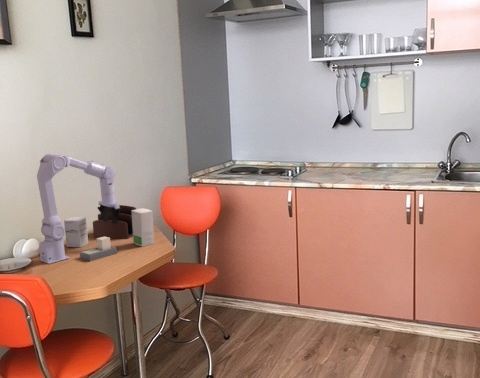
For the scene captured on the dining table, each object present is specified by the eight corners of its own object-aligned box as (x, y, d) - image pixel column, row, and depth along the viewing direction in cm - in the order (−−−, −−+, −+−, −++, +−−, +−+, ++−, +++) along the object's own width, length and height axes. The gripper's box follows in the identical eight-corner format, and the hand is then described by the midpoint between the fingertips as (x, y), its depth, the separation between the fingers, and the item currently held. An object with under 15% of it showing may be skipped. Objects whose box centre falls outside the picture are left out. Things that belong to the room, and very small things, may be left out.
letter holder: (105, 231, 270) (102, 204, 268) (139, 233, 263) (137, 205, 261) (93, 236, 261) (90, 208, 259) (128, 239, 254) (125, 209, 251)
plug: (103, 255, 228) (101, 239, 227) (98, 254, 231) (96, 238, 230) (111, 253, 231) (109, 237, 230) (106, 251, 234) (104, 236, 233)
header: (90, 261, 222) (89, 254, 221) (80, 257, 227) (79, 251, 227) (117, 253, 231) (116, 247, 231) (106, 250, 236) (105, 244, 236)
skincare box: (133, 243, 245) (130, 210, 242) (145, 240, 249) (142, 207, 246) (143, 247, 238) (139, 212, 236) (155, 243, 243) (152, 209, 240)
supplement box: (66, 247, 245) (63, 220, 242) (74, 242, 252) (71, 216, 249) (80, 247, 243) (77, 220, 241) (89, 243, 250) (86, 216, 248)
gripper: (124, 193, 240) (126, 222, 242) (107, 190, 250) (109, 218, 252) (110, 195, 235) (113, 226, 237) (93, 192, 245) (96, 221, 248)
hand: (110, 222), depth 245 cm, fingers open, 7 cm apart
